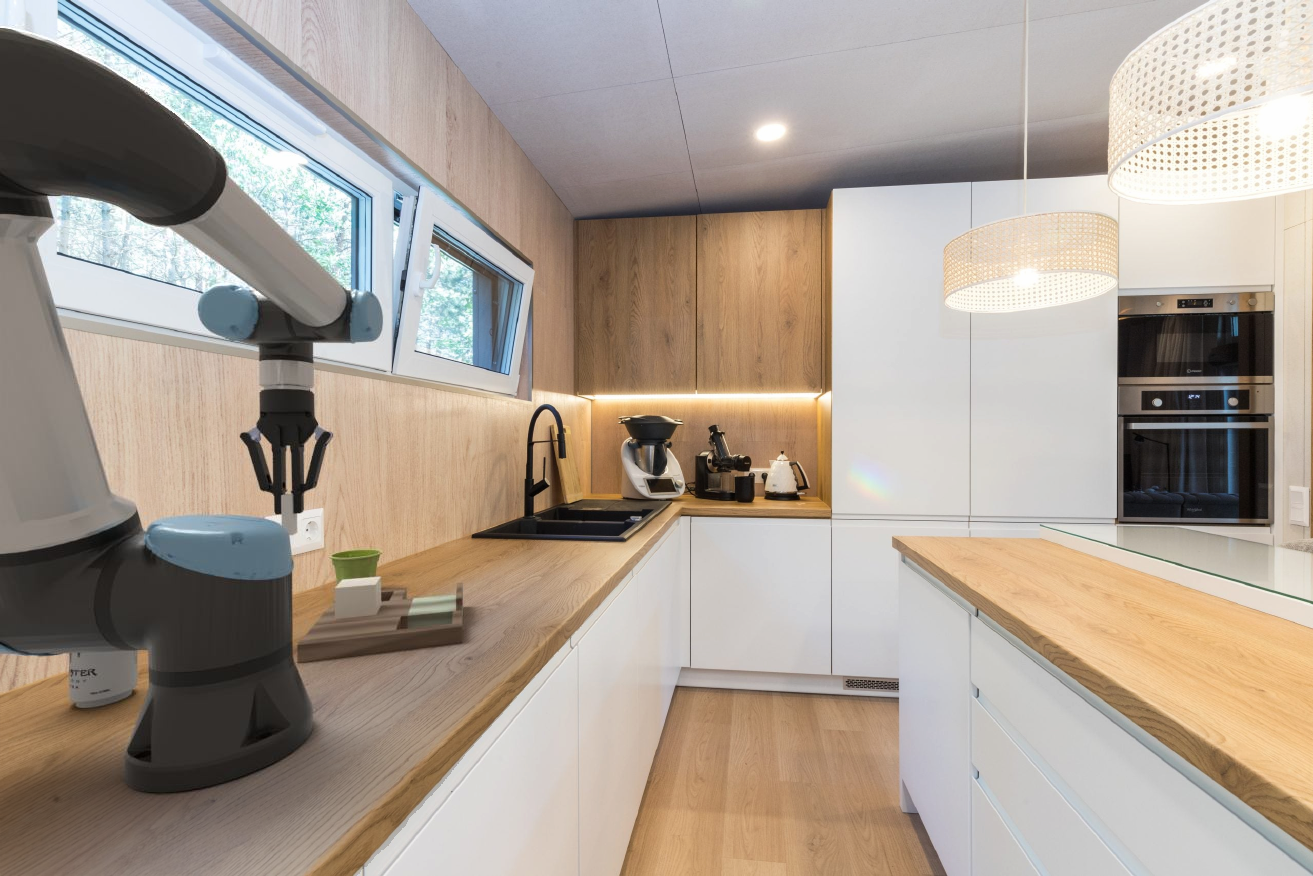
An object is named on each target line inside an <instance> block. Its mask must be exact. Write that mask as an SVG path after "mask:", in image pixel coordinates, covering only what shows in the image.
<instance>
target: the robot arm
mask: <svg viewBox="0 0 1313 876" xmlns="http://www.w3.org/2000/svg"><path fill="white" fill-rule="evenodd" d="M228 168H229V167H228V164H227V162H226V160H225V159H224V157H223V155H222V154H221V153H220V152H219V151H218V149H217V148H216V147H215V146H214V145H213V144H212V143H211V142H210V141H209V140H208V139H207V138H206V137H205V136H204V135H203V134H202V133H201V132H200V131H199V130H198V129H197V128H195V126H194V125H192V124H190V123H189V122H188V121H187V120H186V119H185V118H183V116H182V115H180V113H178V112H177V111H175V110H174V109H173V108H171V107H170V106H169V105H167V104H166V103H165V102H164V101H162V100H161V99H159V98H158V97H157V96H155V95H154V94H152V93H151V92H149V91H148V90H147V89H145V88H143V87H142V86H140V85H139V84H137V83H136V82H135V81H133V80H131V79H129V78H128V77H126V76H125V75H123V74H121V73H120V72H118V71H117V70H115V69H113V68H111V67H110V66H108V65H106V64H104V63H102V62H101V61H98V60H96V59H94V58H93V57H91V56H89V55H87V54H85V53H83V52H81V51H79V50H77V49H76V48H73V47H70V46H67V45H66V44H63V43H60V42H59V41H56V40H54V39H52V38H48V37H46V36H42V35H39V34H36V33H33V32H29V31H26V30H23V29H18V28H13V27H7V26H1V25H0V654H2V655H20V656H25V657H28V656H29V657H31V656H35V657H39V658H40V657H52V656H58V655H63V654H69V653H86V652H109V651H135V650H137V651H147V656H148V690H147V693H146V696H145V698H144V701H143V703H142V706H141V709H140V711H139V714H138V717H137V720H136V721H135V722H136V723H135V725H134V727H133V730H132V733H131V736H130V738H129V741H128V744H127V746H126V749H125V753H124V761H123V762H124V781H125V783H126V785H128V786H129V787H130V788H132V789H134V790H137V791H141V792H147V793H148V792H149V793H173V792H176V793H177V792H183V791H189V790H196V789H200V788H205V787H209V786H213V785H217V784H222V783H224V782H228V781H231V780H234V779H238V778H240V777H243V776H246V775H248V774H252V773H254V772H256V771H258V770H261V769H263V768H265V767H267V766H269V765H271V764H273V763H276V762H278V761H280V760H281V759H282V758H284V757H286V756H288V755H289V754H291V753H293V752H294V751H295V750H296V749H298V748H300V747H301V746H302V744H303V743H305V742H306V741H307V740H308V739H309V737H310V735H311V734H312V732H313V729H314V708H313V704H312V700H311V698H310V696H309V693H308V691H307V689H306V687H305V684H304V682H303V679H302V676H301V674H300V672H299V669H298V667H297V665H296V662H295V660H294V651H293V650H294V646H293V634H294V633H293V631H294V630H293V626H294V625H293V623H294V622H293V617H294V616H293V613H294V612H293V570H294V567H295V566H294V565H295V563H294V558H293V554H292V546H291V537H290V536H294V535H296V534H297V533H298V514H301V513H303V512H304V510H305V504H304V503H305V501H304V500H305V498H304V497H305V493H306V492H307V491H310V490H313V489H315V488H316V487H317V485H318V483H319V482H318V481H319V478H320V473H321V471H322V470H321V469H322V467H323V462H324V458H325V454H326V450H327V446H328V444H329V443H330V442H331V440H333V438H334V433H333V432H332V431H327V430H326V429H323V428H322V427H320V426H319V422H318V420H317V419H316V417H315V415H316V414H315V393H314V392H313V391H312V390H311V389H313V388H315V364H314V363H315V361H314V344H316V343H318V344H323V343H324V344H326V343H327V344H353V345H354V344H356V343H368V342H369V343H370V342H374V341H376V340H378V339H379V338H380V336H381V335H382V331H383V326H384V315H383V309H382V306H381V303H380V301H379V299H378V296H376V294H375V293H374V292H372V291H369V290H358V289H356V288H355V289H354V288H353V289H352V290H351V289H350V290H349V289H346V288H345V287H344V286H343V285H342V284H341V283H339V281H338V280H337V279H336V278H335V277H333V275H332V274H330V272H328V271H327V270H326V269H325V268H324V267H323V266H322V265H321V264H320V263H319V262H317V260H316V259H315V258H314V257H313V256H312V255H311V253H309V252H308V251H307V250H306V249H305V248H303V247H302V246H301V245H300V244H299V243H298V242H297V241H296V239H294V237H292V236H291V235H290V234H289V233H288V232H287V231H286V230H285V229H284V228H283V227H282V226H281V225H280V224H279V223H278V222H276V221H275V219H273V217H271V216H270V215H269V214H268V213H267V212H266V211H265V210H264V209H263V208H262V207H261V205H259V204H258V203H257V202H256V201H255V200H254V199H253V198H252V197H251V196H249V194H248V193H247V192H246V191H244V190H243V189H242V188H241V187H240V186H239V185H238V183H236V182H235V181H234V180H233V179H232V178H231V177H230V176H229V169H228ZM63 196H67V197H69V196H70V197H75V198H84V199H89V200H94V201H99V202H103V203H105V204H106V203H107V204H109V205H111V206H116V207H118V208H119V209H121V210H124V211H125V212H127V213H128V214H130V215H131V216H132V217H133V218H136V219H137V220H138V221H140V222H142V223H144V224H147V225H150V226H152V227H153V226H154V227H157V228H165V229H166V228H168V229H170V230H171V231H173V232H175V233H176V234H177V235H179V236H180V237H181V238H183V239H184V240H186V241H187V242H188V243H190V245H191V244H192V246H194V247H195V248H197V249H198V250H200V251H201V252H202V253H203V254H205V255H206V256H208V257H209V258H211V259H212V260H214V262H216V263H217V264H219V265H221V267H223V268H224V269H226V270H227V271H228V272H230V273H231V274H233V275H234V276H236V277H237V278H238V279H240V280H241V281H242V282H243V283H245V284H246V285H248V286H250V287H251V288H252V289H248V288H247V287H246V286H243V285H240V284H238V285H237V284H233V283H228V282H227V283H226V282H222V283H216V284H213V285H212V286H209V287H207V289H205V291H204V292H203V293H202V294H201V296H200V297H199V299H198V303H197V315H198V319H199V320H200V321H199V322H201V325H203V327H205V328H206V329H207V331H209V332H210V333H212V334H214V335H217V336H219V337H221V338H224V339H225V340H228V341H231V342H239V343H244V344H247V345H252V346H256V347H258V361H259V362H258V377H259V378H258V385H259V386H260V387H262V388H263V389H261V390H260V392H259V397H258V398H259V418H258V420H257V422H256V424H255V425H256V426H255V427H253V428H251V429H249V430H248V431H243V432H241V433H240V434H239V439H241V441H242V443H244V445H245V446H246V447H247V450H248V454H249V457H250V460H251V463H252V466H253V471H254V473H255V478H256V481H257V483H258V486H259V489H260V491H261V492H267V493H269V494H272V495H273V506H274V507H273V511H274V514H275V515H276V516H277V515H281V524H280V523H278V522H277V521H274V520H272V519H268V518H263V517H256V516H248V515H235V514H211V515H210V514H188V515H187V514H186V515H175V516H169V517H163V518H159V519H157V520H154V521H152V522H150V524H149V525H148V527H147V529H146V530H144V527H143V525H142V521H141V518H140V515H139V514H140V513H139V511H138V508H137V504H136V502H134V501H133V500H130V499H127V498H125V497H123V496H121V495H117V494H115V493H114V492H113V491H111V488H110V487H111V486H110V484H109V481H108V477H107V475H106V470H105V468H104V464H103V460H102V458H101V454H100V451H99V448H98V444H97V440H96V438H95V435H94V431H93V428H92V423H91V421H90V417H89V414H88V411H87V407H86V405H85V401H84V396H83V394H82V391H81V387H80V384H79V380H78V377H77V375H76V374H77V373H76V371H75V368H74V364H73V361H72V358H71V357H72V356H71V355H70V350H69V348H68V344H67V341H66V340H67V339H66V337H65V334H64V331H63V327H62V324H61V320H60V317H59V315H58V314H59V313H58V310H57V308H56V304H55V301H54V297H53V293H52V290H51V287H50V284H49V281H48V277H47V273H46V271H45V267H44V263H43V260H42V257H41V253H40V250H39V247H38V244H37V243H38V242H39V239H40V238H41V237H42V236H43V235H44V234H45V233H46V232H47V231H48V230H49V229H50V228H52V226H53V225H54V224H55V217H54V215H53V211H52V208H51V203H50V200H49V198H48V197H63ZM253 289H254V290H253ZM313 434H315V435H314V439H315V441H316V442H315V444H314V447H313V451H312V455H311V459H310V462H309V467H308V471H307V475H306V479H305V444H306V443H307V442H308V441H309V439H310V438H311V437H312V436H313ZM261 435H262V436H263V437H264V438H265V439H266V440H267V441H268V443H269V444H270V446H271V449H270V450H271V453H272V477H271V473H270V471H269V470H270V469H269V467H268V463H267V460H266V459H267V458H266V456H265V454H264V450H263V446H262V445H261V444H262V443H261V441H262V436H261ZM288 446H289V451H290V458H291V459H290V460H291V471H290V472H291V490H290V493H287V491H288V489H287V451H288V448H287V447H288Z"/></svg>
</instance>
